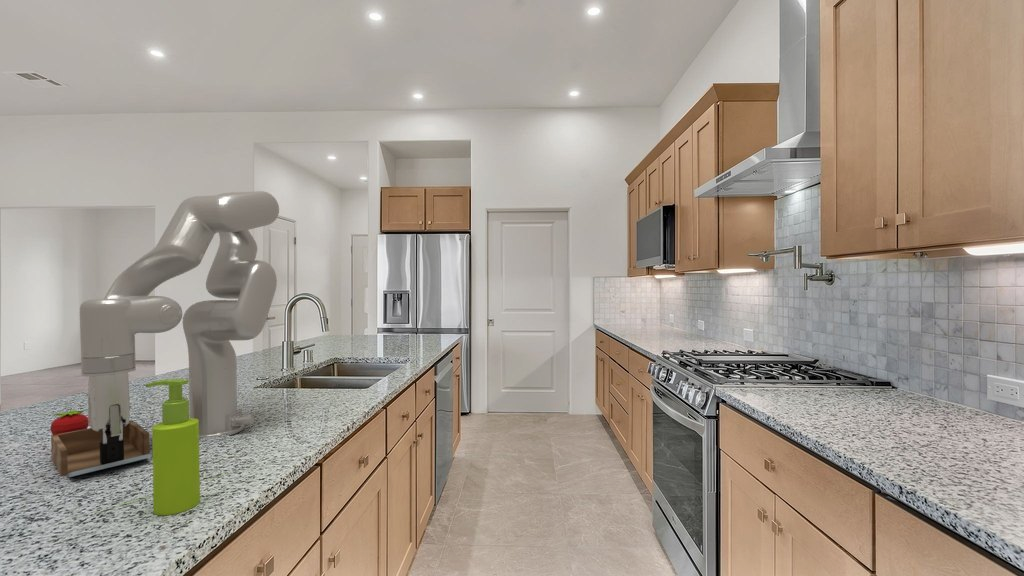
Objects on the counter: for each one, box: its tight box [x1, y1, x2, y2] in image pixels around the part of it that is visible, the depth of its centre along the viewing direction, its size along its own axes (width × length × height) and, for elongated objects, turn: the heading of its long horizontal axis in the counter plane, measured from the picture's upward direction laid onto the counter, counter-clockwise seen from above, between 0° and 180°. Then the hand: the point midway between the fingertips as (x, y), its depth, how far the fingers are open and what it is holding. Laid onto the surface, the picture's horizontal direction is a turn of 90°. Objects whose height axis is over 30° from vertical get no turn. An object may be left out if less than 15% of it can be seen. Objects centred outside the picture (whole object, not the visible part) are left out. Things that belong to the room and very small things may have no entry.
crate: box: [50, 420, 151, 477], centre depth 90 cm, size 14×13×6 cm
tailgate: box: [67, 453, 153, 478], centre depth 84 cm, size 1×11×5 cm
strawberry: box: [49, 403, 89, 435], centre depth 97 cm, size 6×8×10 cm
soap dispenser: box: [144, 378, 201, 516], centre depth 71 cm, size 6×7×20 cm
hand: (112, 462), depth 84 cm, fingers closed
